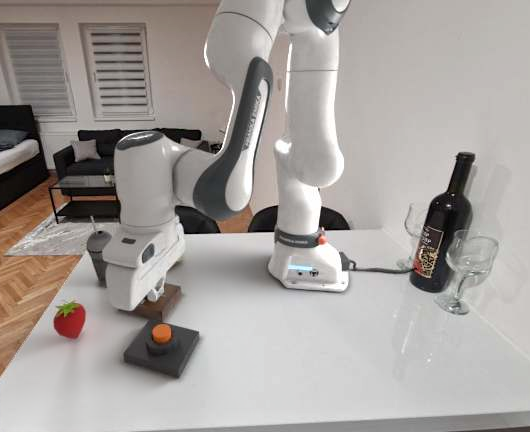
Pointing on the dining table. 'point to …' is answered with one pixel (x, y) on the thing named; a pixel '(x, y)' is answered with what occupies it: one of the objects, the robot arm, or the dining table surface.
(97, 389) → the dining table surface
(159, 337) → the orange button cap
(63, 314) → the strawberry
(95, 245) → the beverage cup
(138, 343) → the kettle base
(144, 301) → the panel
